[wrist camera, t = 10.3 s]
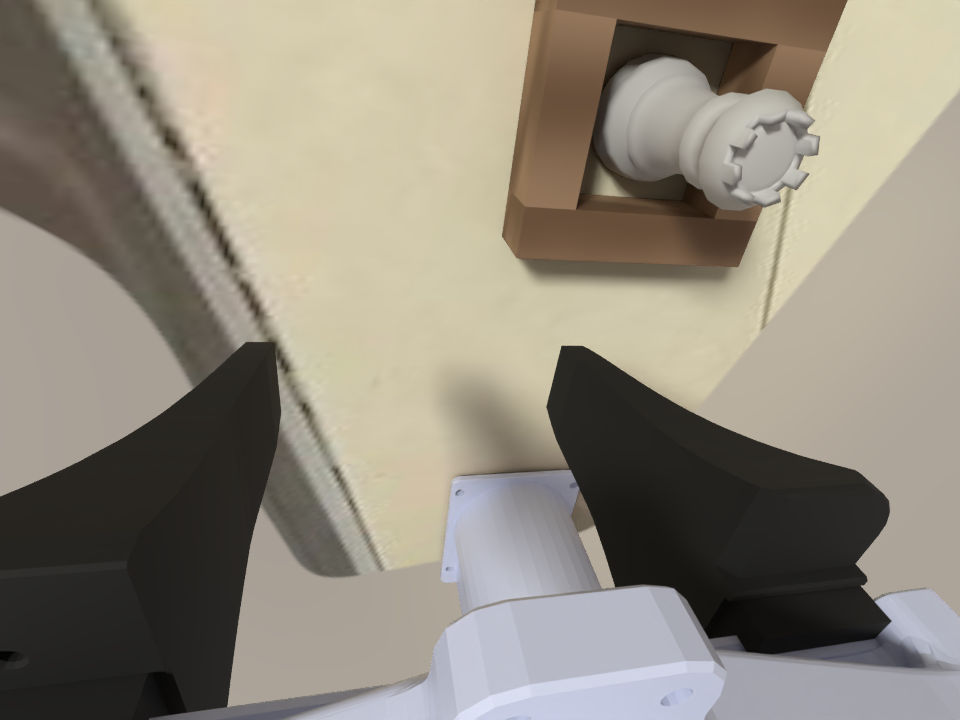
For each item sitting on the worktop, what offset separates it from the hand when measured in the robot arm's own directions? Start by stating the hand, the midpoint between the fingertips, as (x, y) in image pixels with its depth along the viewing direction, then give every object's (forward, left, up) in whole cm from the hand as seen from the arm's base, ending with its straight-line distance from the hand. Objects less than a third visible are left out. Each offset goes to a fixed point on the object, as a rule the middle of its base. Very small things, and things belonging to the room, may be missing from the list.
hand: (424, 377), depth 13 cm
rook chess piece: (+6, -9, -10) cm, 15 cm away
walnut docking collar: (+6, -9, -10) cm, 15 cm away
